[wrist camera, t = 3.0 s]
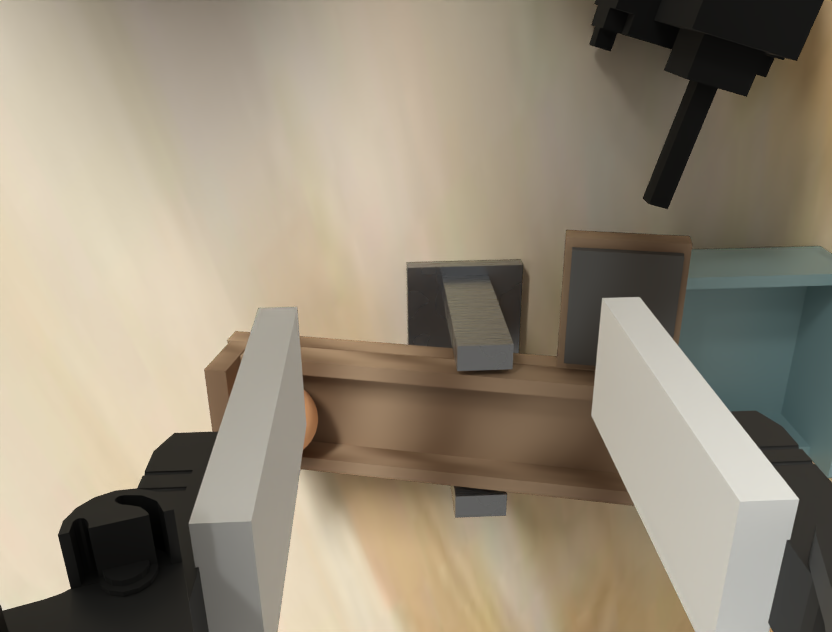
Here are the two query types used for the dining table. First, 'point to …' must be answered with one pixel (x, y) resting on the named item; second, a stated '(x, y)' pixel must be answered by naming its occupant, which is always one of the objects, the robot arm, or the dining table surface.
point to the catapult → (483, 389)
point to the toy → (705, 57)
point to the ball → (310, 419)
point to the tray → (766, 336)
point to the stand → (468, 332)
